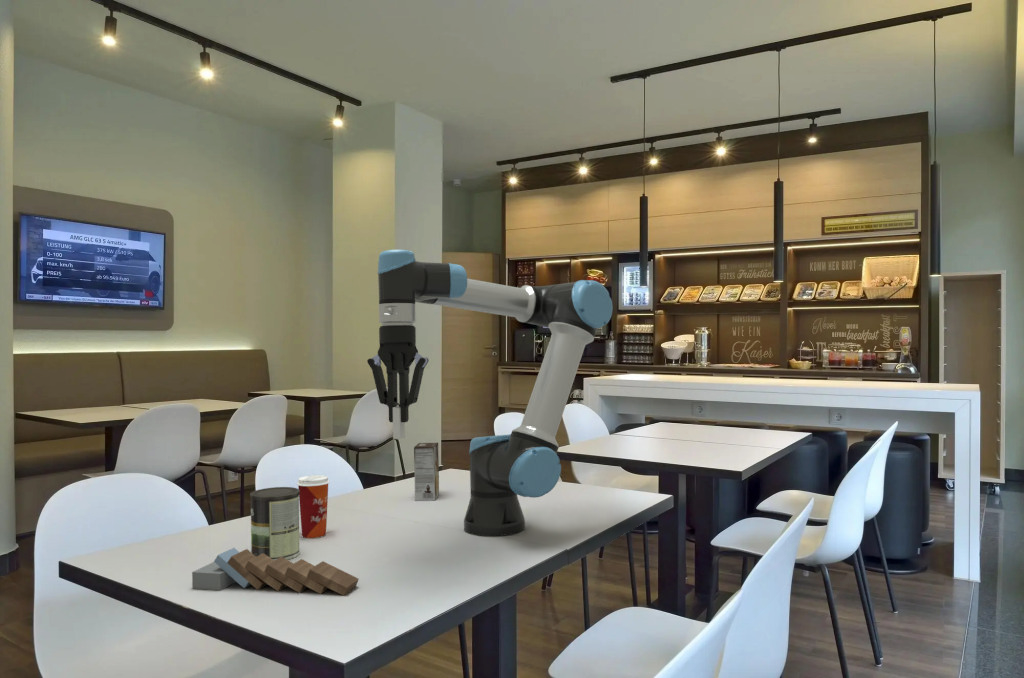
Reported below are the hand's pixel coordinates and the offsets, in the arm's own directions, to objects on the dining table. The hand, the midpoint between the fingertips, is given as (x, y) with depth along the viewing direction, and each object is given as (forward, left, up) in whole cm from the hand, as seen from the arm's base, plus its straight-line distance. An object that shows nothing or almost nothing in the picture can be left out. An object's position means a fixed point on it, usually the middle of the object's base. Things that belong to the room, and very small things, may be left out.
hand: (399, 438), depth 145 cm
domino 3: (+17, +16, -26) cm, 35 cm away
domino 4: (+12, +16, -26) cm, 33 cm away
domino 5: (+8, +16, -26) cm, 31 cm away
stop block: (+31, +16, -26) cm, 44 cm away
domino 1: (+24, +16, -26) cm, 38 cm away
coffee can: (+30, -2, -27) cm, 40 cm away
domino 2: (+21, +16, -26) cm, 37 cm away
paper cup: (+30, -19, -27) cm, 44 cm away
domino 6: (+3, +16, -26) cm, 30 cm away
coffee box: (+17, -64, -27) cm, 71 cm away
